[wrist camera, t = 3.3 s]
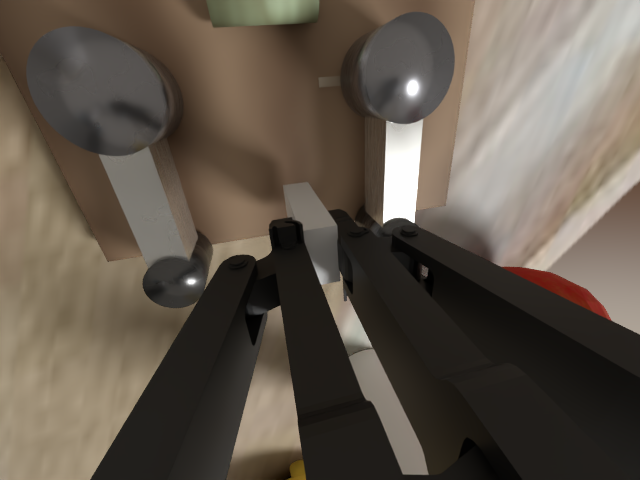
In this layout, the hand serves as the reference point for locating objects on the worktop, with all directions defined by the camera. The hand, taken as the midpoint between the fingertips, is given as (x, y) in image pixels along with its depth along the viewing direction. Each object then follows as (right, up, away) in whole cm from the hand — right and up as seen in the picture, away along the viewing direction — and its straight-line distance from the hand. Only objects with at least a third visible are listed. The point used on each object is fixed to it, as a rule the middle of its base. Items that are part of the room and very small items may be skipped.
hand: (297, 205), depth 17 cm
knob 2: (+5, +4, +1) cm, 6 cm away
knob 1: (-8, +1, -1) cm, 8 cm away
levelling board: (-2, +6, +1) cm, 6 cm away
